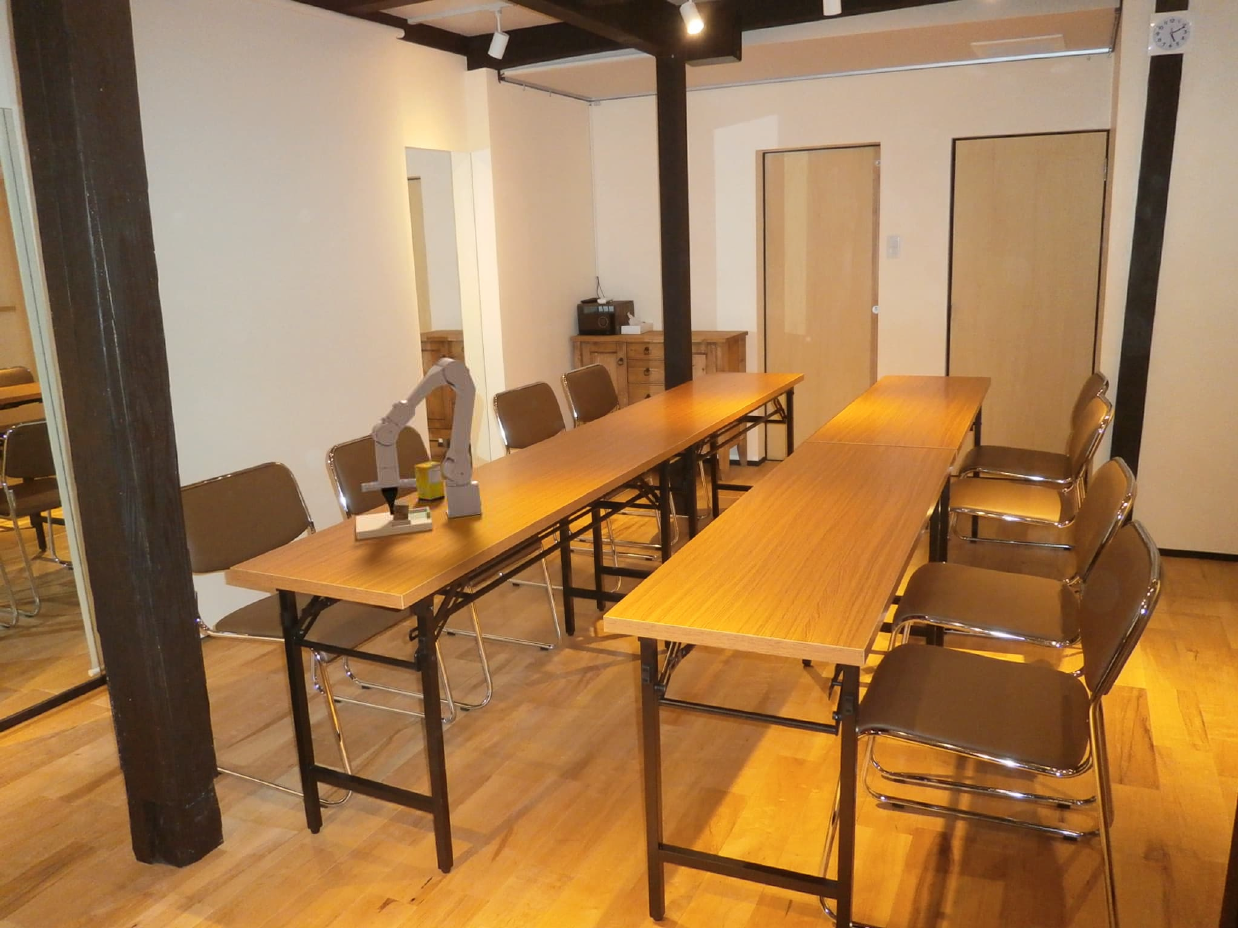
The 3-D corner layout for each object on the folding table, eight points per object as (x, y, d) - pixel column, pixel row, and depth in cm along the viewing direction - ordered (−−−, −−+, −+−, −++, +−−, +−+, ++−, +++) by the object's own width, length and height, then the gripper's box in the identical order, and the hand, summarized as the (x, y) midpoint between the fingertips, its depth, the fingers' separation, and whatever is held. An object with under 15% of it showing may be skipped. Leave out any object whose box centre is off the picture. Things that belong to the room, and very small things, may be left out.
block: (407, 515, 272) (408, 501, 271) (408, 519, 268) (408, 505, 267) (393, 515, 271) (393, 501, 270) (393, 519, 267) (394, 504, 266)
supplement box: (432, 495, 300) (428, 460, 298) (445, 497, 297) (441, 462, 294) (417, 500, 296) (413, 465, 293) (430, 502, 292) (426, 467, 290)
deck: (428, 513, 280) (427, 501, 279) (432, 529, 264) (431, 516, 263) (357, 523, 275) (355, 510, 274) (357, 539, 259) (355, 526, 259)
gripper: (413, 460, 271) (418, 507, 274) (360, 465, 267) (365, 513, 270) (415, 466, 264) (419, 514, 267) (360, 471, 261) (365, 519, 264)
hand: (392, 514), depth 268 cm, fingers closed, pressing on block
